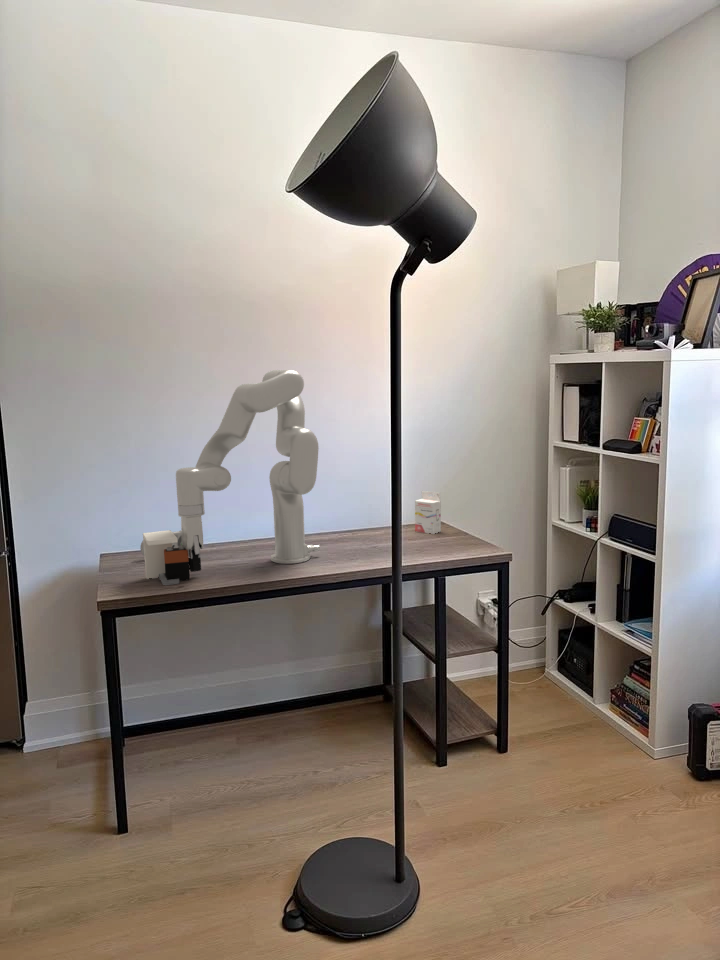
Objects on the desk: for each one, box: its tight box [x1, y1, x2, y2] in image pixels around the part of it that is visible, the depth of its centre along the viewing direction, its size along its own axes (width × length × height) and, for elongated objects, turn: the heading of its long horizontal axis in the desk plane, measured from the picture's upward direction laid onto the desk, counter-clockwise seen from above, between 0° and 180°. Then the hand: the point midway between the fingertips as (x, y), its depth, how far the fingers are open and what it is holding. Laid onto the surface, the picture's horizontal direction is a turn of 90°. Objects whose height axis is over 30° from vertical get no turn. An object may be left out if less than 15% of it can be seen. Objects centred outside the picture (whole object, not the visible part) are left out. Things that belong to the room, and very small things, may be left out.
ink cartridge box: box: [414, 490, 442, 535], centre depth 268 cm, size 9×5×15 cm, turn 52°
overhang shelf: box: [142, 529, 180, 586], centre depth 213 cm, size 8×12×14 cm, turn 23°
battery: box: [164, 545, 191, 582], centre depth 215 cm, size 4×7×10 cm, turn 105°
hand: (195, 570), depth 218 cm, fingers closed
